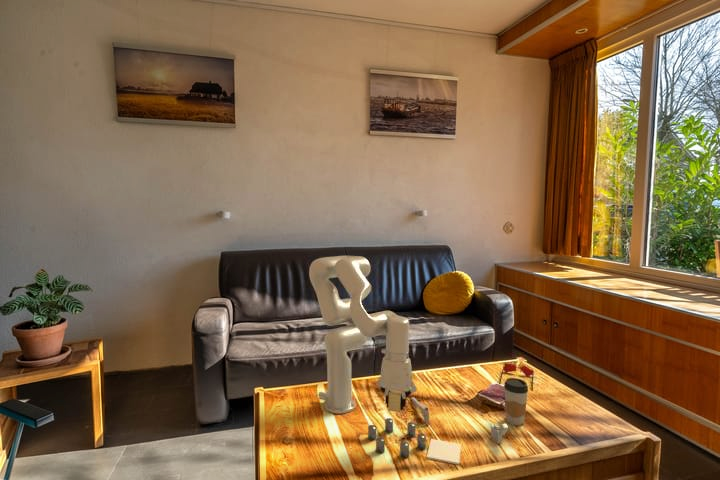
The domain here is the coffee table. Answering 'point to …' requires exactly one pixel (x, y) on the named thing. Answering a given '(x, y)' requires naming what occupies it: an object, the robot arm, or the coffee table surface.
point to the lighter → (498, 432)
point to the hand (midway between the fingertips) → (395, 406)
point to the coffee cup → (515, 400)
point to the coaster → (444, 451)
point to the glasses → (524, 369)
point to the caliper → (422, 410)
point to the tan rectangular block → (394, 400)
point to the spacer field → (403, 445)
